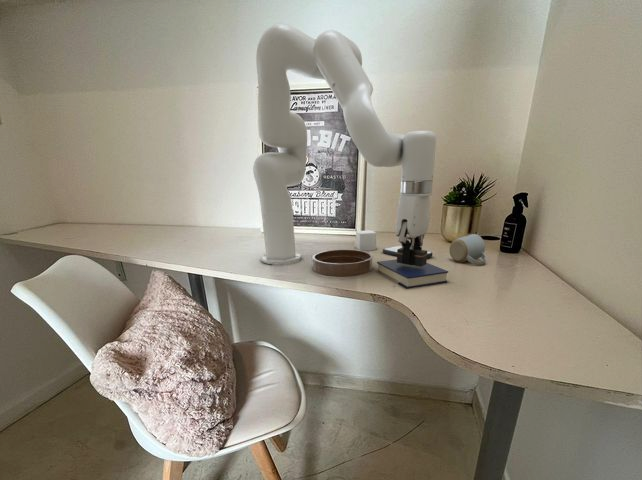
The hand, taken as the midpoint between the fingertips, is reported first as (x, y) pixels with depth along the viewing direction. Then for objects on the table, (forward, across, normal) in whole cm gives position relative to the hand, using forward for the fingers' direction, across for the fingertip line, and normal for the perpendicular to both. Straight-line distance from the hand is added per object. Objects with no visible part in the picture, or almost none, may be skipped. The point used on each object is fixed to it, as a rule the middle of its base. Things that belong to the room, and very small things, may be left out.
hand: (411, 262), depth 88 cm
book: (+4, 0, 0) cm, 4 cm away
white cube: (+4, -21, -29) cm, 37 cm away
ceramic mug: (+4, -25, +7) cm, 26 cm away
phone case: (+4, -21, -12) cm, 25 cm away
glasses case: (0, 0, 0) cm, 0 cm away
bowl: (+4, +5, -19) cm, 20 cm away
